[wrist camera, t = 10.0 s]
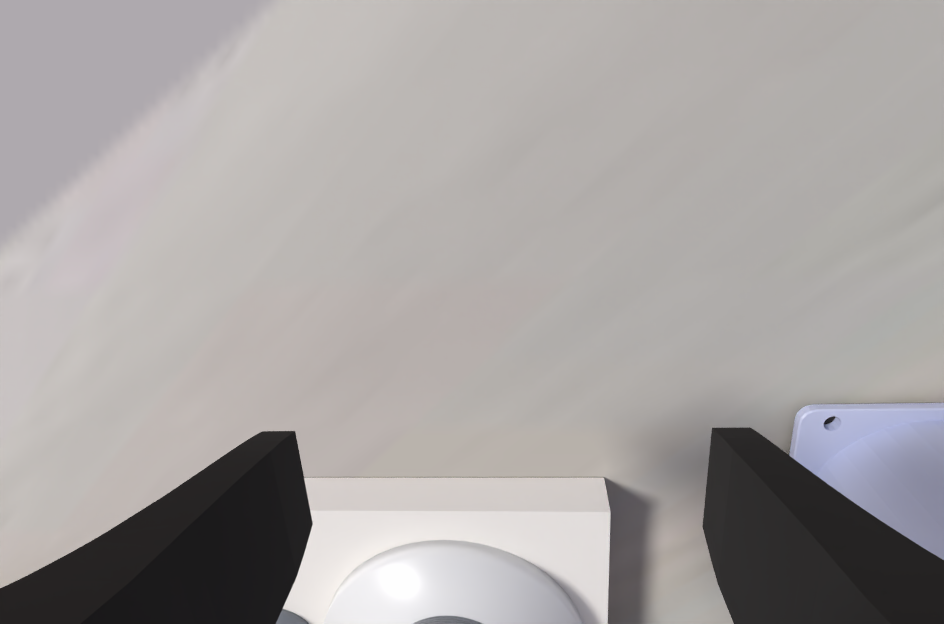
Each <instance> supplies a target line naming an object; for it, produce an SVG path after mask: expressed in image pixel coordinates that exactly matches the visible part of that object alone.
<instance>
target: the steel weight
mask: <svg viewBox="0 0 944 624" xmlns="http://www.w3.org/2000/svg"><path fill="white" fill-rule="evenodd" d="M413 624H482V623H480V622H478V621H475V620H472V619H469V618H465V617H459V616H434V617H429V618H425V619H422V620H419V621H417V622H415V623H413Z"/></svg>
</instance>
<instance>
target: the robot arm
mask: <svg viewBox="0 0 944 624" xmlns="http://www.w3.org/2000/svg"><path fill="white" fill-rule="evenodd" d="M833 416H835V419H834V421H832V422H831V423H829V424H824V422H825V420H826V419H827V418H829V417H833ZM312 525H313V522H312V517H311V512H310V507H309V502H308V496H307V491H306V486H305V481H304V476H303V470H302V465H301V460H300V455H299V450H298V444H297V439H296V434H295V431H267V432H261V433H259V434H257V435H255V436H253V437H252V438H250V439H248V440H247V441H245V442H244V443H242V444H241V445H239V446H238V447H236V448H235V449H233V450H231V451H230V452H229V453H227V454H226V455H224V456H223V457H221V458H220V459H218V460H217V461H215V462H214V463H212V464H211V465H209V466H208V467H207V468H205V469H204V470H202V471H201V472H199V473H198V474H196V475H195V476H193V477H192V478H190V479H189V480H187V481H186V482H184V483H183V484H181V485H180V486H178V487H177V488H175V489H174V490H172V491H171V492H170V493H168V494H167V495H165V496H164V497H162V498H160V499H159V500H157V501H156V502H154V503H152V504H151V505H149V506H148V507H146V508H144V509H143V510H141V511H140V512H138V513H136V514H135V515H133V516H132V517H130V518H128V519H127V520H125V521H124V522H122V523H121V524H119V525H117V526H116V527H114V528H113V529H111V530H109V531H108V532H106V533H104V534H103V535H101V536H99V537H98V538H96V539H94V540H92V541H91V542H89V543H87V544H85V545H84V546H82V547H80V548H78V549H77V550H75V551H73V552H71V553H69V554H67V555H66V556H64V557H62V558H60V559H58V560H56V561H54V562H52V563H51V564H49V565H47V566H45V567H43V568H41V569H39V570H37V571H35V572H34V573H32V574H30V575H28V576H26V577H24V578H22V579H20V580H18V581H15V582H13V583H11V584H9V585H7V586H5V587H3V588H0V624H276V622H277V620H278V618H279V616H280V613H281V611H282V609H283V607H284V604H285V602H286V600H287V598H288V596H289V593H290V591H291V589H292V587H293V584H294V582H295V580H296V577H297V574H298V571H299V568H300V565H301V562H302V559H303V556H304V553H305V549H306V546H307V542H308V539H309V535H310V532H311V528H312ZM703 530H704V534H705V538H706V541H707V545H708V549H709V553H710V557H711V561H712V564H713V568H714V571H715V575H716V578H717V582H718V585H719V587H720V590H721V593H722V595H723V598H724V600H725V603H726V605H727V608H728V610H729V612H730V615H731V617H732V620H733V622H734V624H944V403H895V404H813V405H807V406H805V407H803V408H801V409H800V410H799V411H798V412H797V414H796V417H795V421H794V428H793V434H792V441H791V448H790V454H789V455H788V454H786V453H785V452H784V451H782V450H781V449H780V448H778V447H777V446H776V445H774V444H773V443H772V442H770V441H769V440H767V439H766V438H765V437H763V436H762V435H760V434H759V433H758V432H756V431H755V430H753V429H751V428H712V435H711V445H710V456H709V466H708V476H707V487H706V497H705V508H704V518H703Z"/></svg>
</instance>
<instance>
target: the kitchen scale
mask: <svg viewBox="0 0 944 624" xmlns="http://www.w3.org/2000/svg"><path fill="white" fill-rule="evenodd" d="M304 481H305V486H306V491H307V496H308V502H309V507H310V512H311V517H312V522H313V525H312V528H311V532H310V535H309V539H308V542H307V546H306V549H305V553H304V556H303V559H302V562H301V565H300V568H299V571H298V574H297V577H296V580H295V582H294V584H293V587H292V589H291V591H290V593H289V596H288V598H287V600H286V602H285V604H284V607H283V609H282V611H281V613H280V616H279V618H278V620H277V622H276V624H413V623H415V622H417V621H419V620H422V619H425V618H429V617H434V616H459V617H465V618H469V619H472V620H475V621H478V622H480V623H482V624H607V623H608V587H609V550H610V514H611V512H610V506H609V501H608V496H607V491H606V485H605V480H604V478H304Z"/></svg>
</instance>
